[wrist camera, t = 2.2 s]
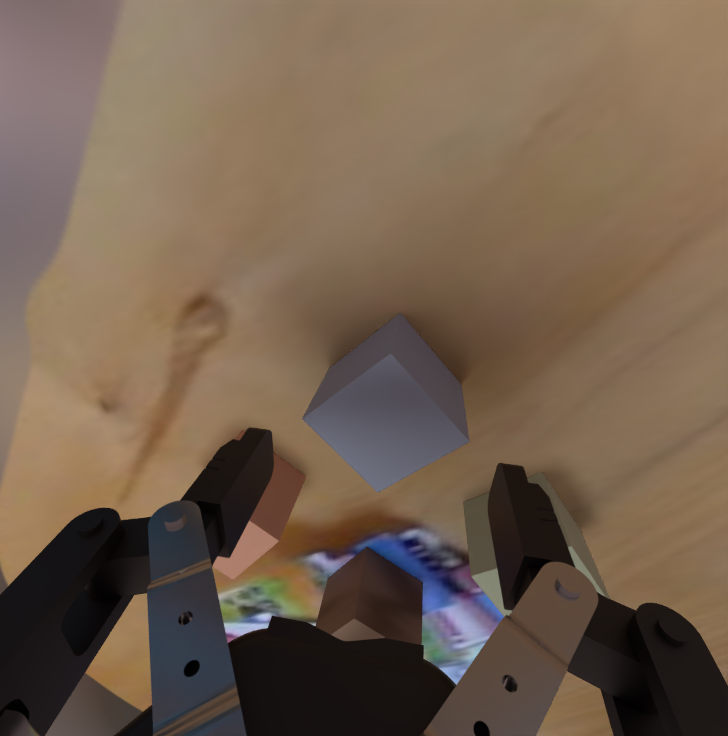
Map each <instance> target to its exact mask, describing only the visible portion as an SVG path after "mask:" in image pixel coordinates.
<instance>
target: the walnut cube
mask: <svg viewBox="0 0 728 736" xmlns="http://www.w3.org/2000/svg"><path fill="white" fill-rule="evenodd" d="M422 593H423V583H422V582H421V581H419V580H418V579H416V578H415V577H413V576H412V575H410V574H409V573H407V572H405V571H404V570H402V569H401V568H399V567H398V566H396V565H395V564H393V563H392V562H390V561H388V560H387V559H385V558H384V557H382V556H381V555H379V554H378V553H376V552H374V551H373V550H371V549H370V548H368V547H366V548H365V549H363V550H362V551H361V552H360V553H358V554H357V555H356V556H355V557H354V558H352V559H351V560H350V561H349V562H347V563H346V564H345V565H344V566H343V567H341V568H340V569H339V570H338V571H336V572H335V573H334V574H333V575H332V576H330V577H329V578H328V580H327V584H326V588H325V592H324V596H323V599H322V603H321V607H320V611H319V615H318V619H317V623H316V626H315V627H317V628H319V629H321V630H323V631H325V632H327V633H329V634H330V635H332V636H334V637H336V638H338V639H340V640H342V641H356V640H367V639H378V638H388V639H393V640H398V641H404V642H409V643H414V644H419V645H421V642H422Z"/></svg>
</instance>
